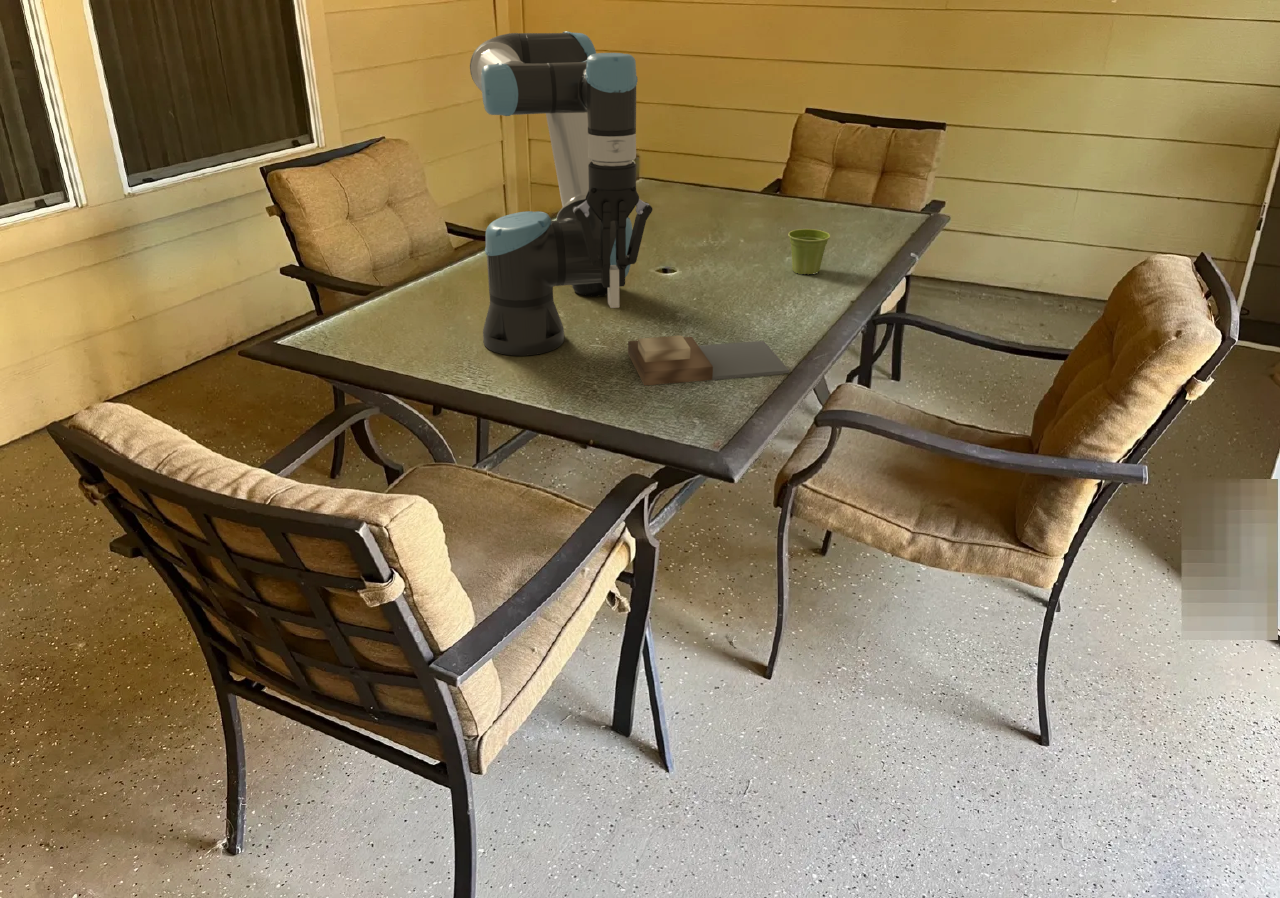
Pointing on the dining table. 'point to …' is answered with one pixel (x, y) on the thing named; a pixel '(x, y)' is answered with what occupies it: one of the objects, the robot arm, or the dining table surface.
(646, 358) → the birch tile
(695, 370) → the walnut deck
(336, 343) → the dining table surface
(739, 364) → the slate mat
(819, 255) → the plant pot
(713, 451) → the dining table surface
